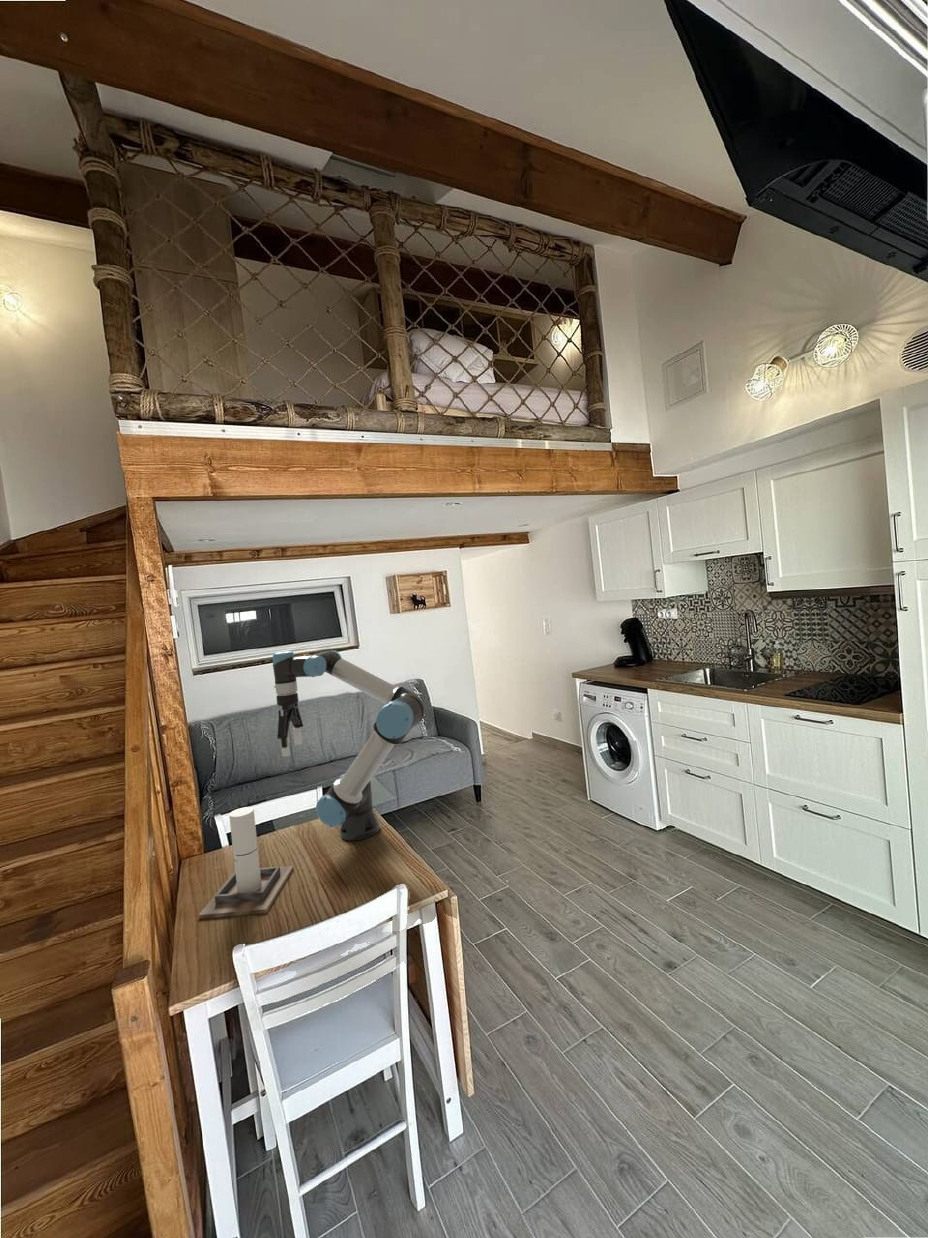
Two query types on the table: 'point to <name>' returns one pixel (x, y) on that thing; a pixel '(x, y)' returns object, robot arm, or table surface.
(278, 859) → the table surface
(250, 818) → the cylindrical container
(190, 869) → the table surface
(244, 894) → the board
